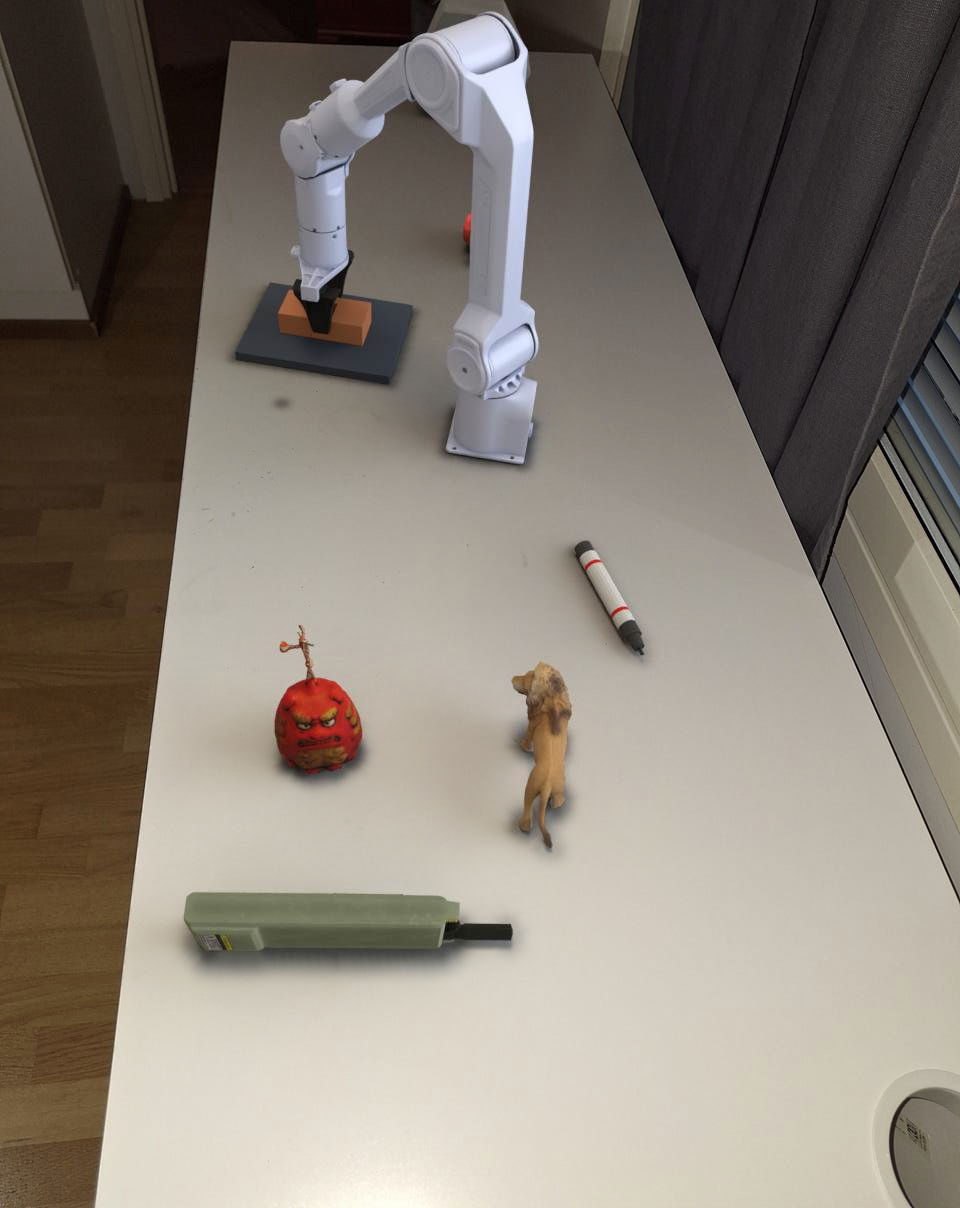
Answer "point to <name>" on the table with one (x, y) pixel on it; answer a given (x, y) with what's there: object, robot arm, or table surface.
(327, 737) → the red clay folk toy
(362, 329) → the orange brown rectangular block
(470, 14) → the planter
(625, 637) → the marker
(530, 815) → the lion figurine
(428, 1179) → the table surface
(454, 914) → the handheld radio
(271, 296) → the dark gray base plate
